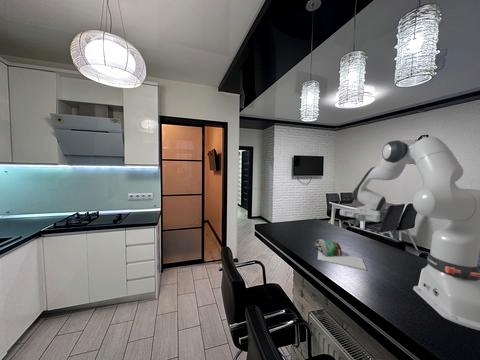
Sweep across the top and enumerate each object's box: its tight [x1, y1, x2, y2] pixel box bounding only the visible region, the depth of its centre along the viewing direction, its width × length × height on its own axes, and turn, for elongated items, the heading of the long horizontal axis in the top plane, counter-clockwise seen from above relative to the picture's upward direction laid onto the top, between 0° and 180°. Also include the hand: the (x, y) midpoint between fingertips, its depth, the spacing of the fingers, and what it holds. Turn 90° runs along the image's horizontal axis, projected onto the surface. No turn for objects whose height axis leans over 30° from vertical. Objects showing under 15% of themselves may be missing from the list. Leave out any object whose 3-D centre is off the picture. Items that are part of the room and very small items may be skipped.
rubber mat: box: [317, 249, 367, 271], centre depth 94 cm, size 12×20×1 cm, turn 66°
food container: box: [313, 238, 343, 256], centre depth 101 cm, size 12×6×10 cm
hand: (354, 216), depth 108 cm, fingers closed
